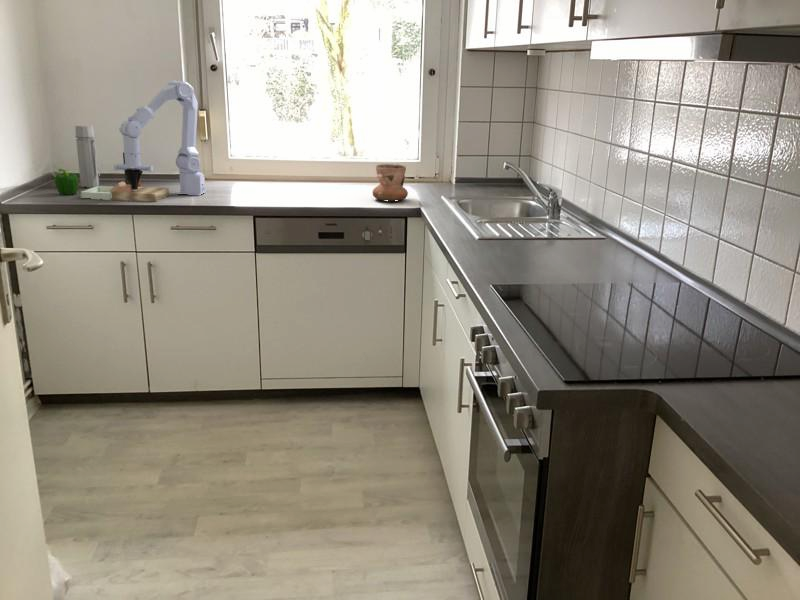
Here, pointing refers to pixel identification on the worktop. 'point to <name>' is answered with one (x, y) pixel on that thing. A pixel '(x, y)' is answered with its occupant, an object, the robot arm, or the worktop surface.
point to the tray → (97, 193)
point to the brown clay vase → (390, 182)
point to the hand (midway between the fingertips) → (135, 189)
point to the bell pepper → (66, 183)
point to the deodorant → (127, 177)
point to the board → (142, 194)
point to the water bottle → (87, 156)
